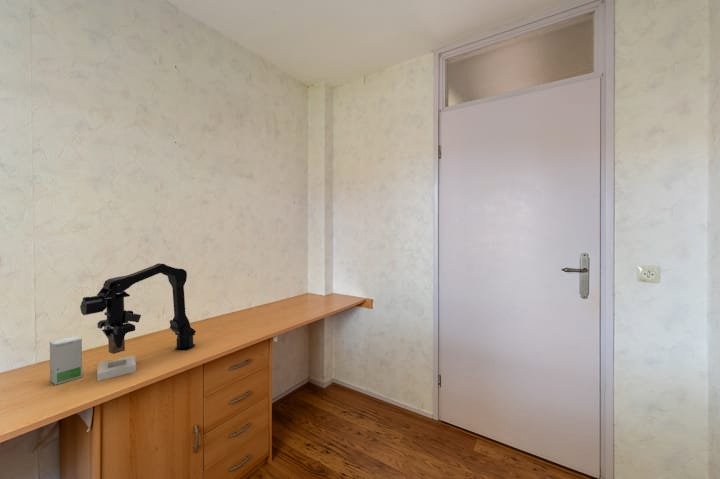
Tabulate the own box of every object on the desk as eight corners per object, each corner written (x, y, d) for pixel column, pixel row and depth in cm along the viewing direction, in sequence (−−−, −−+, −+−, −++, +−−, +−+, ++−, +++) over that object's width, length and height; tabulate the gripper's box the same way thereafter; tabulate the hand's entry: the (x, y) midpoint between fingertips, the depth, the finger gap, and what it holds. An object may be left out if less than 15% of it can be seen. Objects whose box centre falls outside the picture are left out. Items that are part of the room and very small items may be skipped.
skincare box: (54, 385, 113) (53, 344, 112) (49, 381, 116) (47, 341, 116) (83, 376, 120) (82, 337, 120) (78, 372, 124) (76, 334, 123)
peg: (124, 350, 125) (124, 333, 125) (113, 354, 122) (112, 337, 121) (120, 348, 127) (119, 332, 127) (108, 352, 124) (108, 335, 123)
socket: (135, 361, 133) (134, 355, 133) (136, 371, 124) (135, 364, 123) (99, 369, 126) (99, 362, 125) (97, 381, 116) (97, 373, 116)
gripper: (148, 307, 126) (150, 344, 127) (127, 302, 135) (128, 336, 136) (117, 314, 116) (118, 353, 117) (96, 308, 126) (97, 344, 126)
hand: (116, 346), depth 124 cm, fingers closed on peg, 4 cm apart
